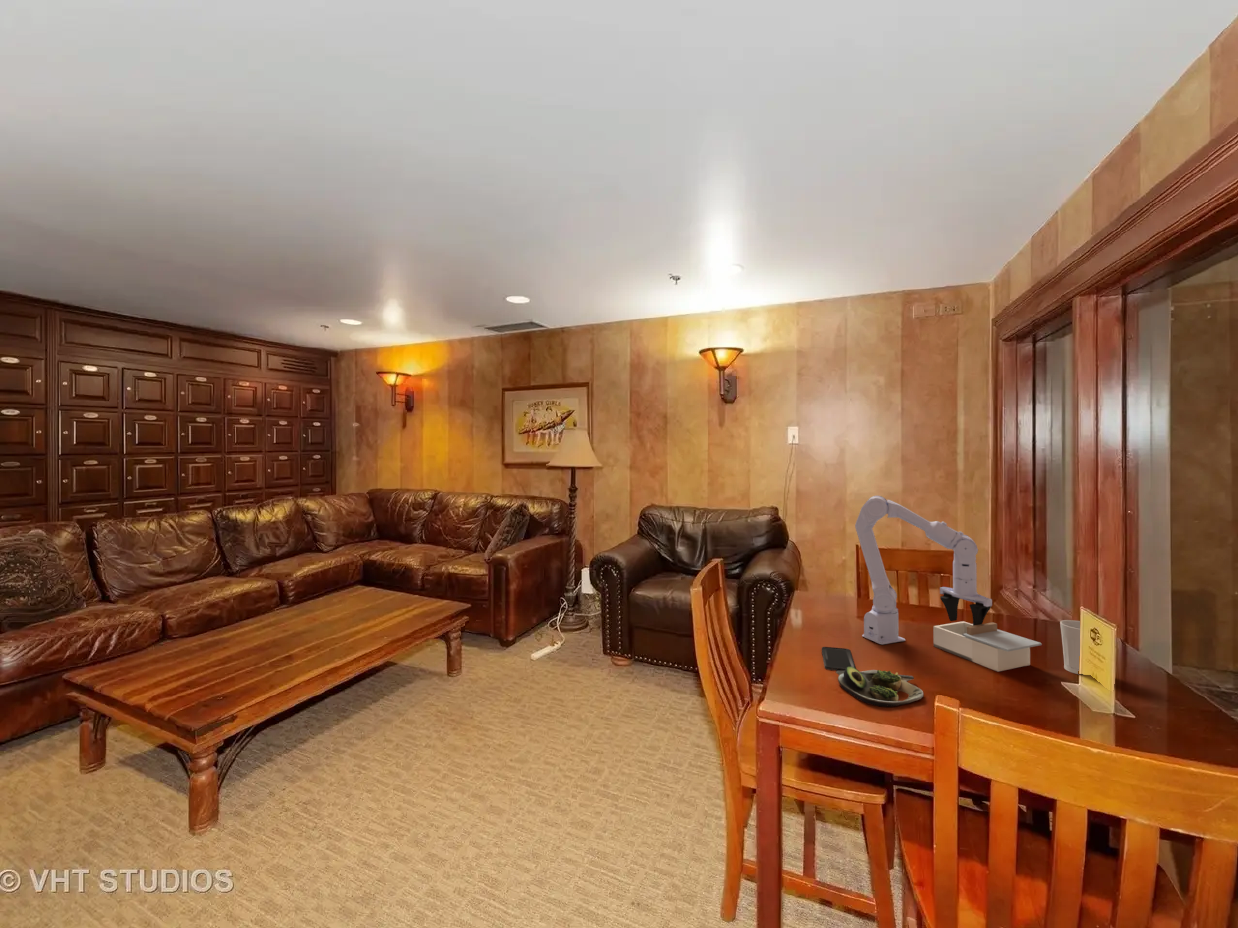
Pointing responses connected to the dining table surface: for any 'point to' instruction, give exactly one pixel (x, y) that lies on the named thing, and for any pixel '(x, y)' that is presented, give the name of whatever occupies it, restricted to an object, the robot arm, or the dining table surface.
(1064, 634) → the cup
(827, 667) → the phone
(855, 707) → the dining table surface
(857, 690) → the salad plate
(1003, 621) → the dining table surface
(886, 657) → the dining table surface
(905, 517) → the robot arm
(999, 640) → the lid
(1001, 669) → the carton
